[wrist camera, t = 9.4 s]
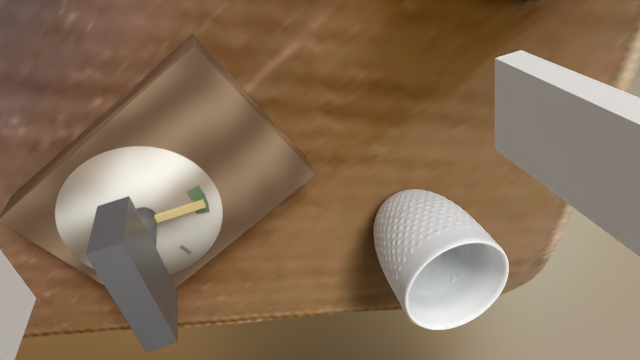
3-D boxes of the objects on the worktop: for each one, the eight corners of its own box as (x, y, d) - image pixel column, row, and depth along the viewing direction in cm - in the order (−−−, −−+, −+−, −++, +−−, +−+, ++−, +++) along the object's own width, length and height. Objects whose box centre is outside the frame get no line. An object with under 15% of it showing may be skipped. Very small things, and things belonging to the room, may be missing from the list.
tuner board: (11, 196, 43) (-4, 223, 39) (192, 34, 40) (194, 46, 36) (148, 285, 51) (147, 313, 47) (305, 156, 49) (316, 176, 45)
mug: (427, 272, 62) (482, 350, 51) (347, 280, 59) (388, 365, 48) (454, 170, 55) (525, 235, 44) (365, 173, 52) (417, 244, 41)
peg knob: (151, 263, 45) (146, 352, 36) (104, 176, 40) (85, 254, 31) (221, 240, 46) (233, 321, 37) (184, 152, 40) (188, 221, 31)
